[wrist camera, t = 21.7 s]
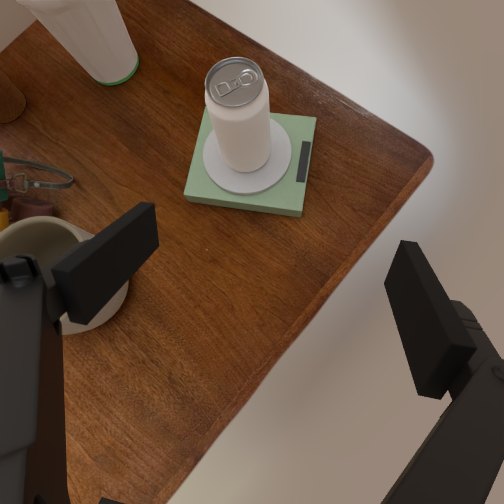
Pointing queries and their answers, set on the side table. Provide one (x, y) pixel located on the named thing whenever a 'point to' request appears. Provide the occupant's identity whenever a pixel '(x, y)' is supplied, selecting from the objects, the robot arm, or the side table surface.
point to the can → (239, 112)
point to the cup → (90, 35)
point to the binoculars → (24, 207)
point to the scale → (261, 180)
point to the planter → (54, 256)
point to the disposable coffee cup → (10, 100)
